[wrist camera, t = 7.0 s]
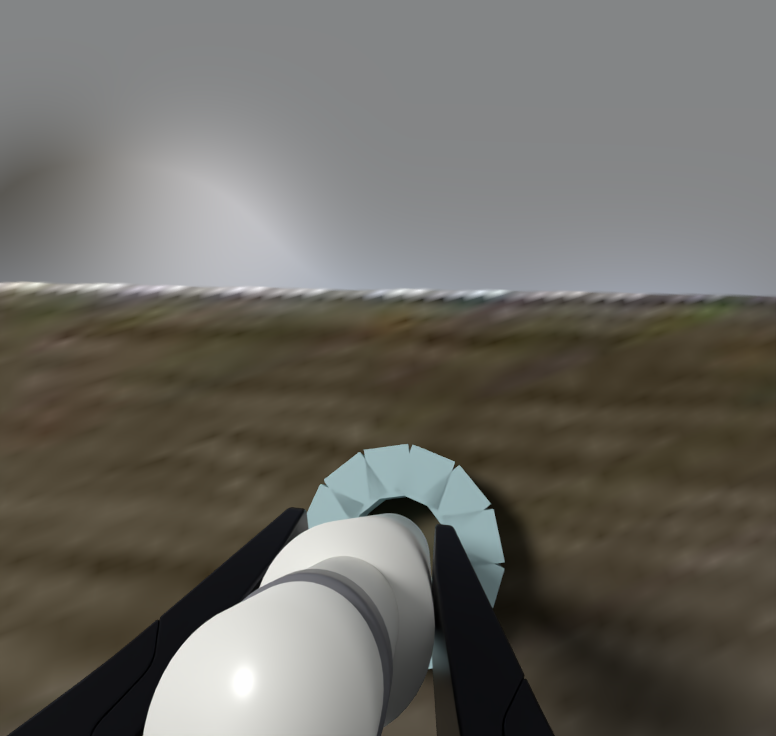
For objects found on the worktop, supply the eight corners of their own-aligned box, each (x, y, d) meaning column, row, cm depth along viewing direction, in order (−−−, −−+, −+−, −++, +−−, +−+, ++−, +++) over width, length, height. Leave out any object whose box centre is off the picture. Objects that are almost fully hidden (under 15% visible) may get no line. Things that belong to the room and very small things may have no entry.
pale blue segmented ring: (510, 636, 19) (524, 657, 16) (321, 657, 20) (303, 682, 17) (471, 443, 23) (477, 434, 20) (311, 465, 23) (296, 459, 20)
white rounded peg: (404, 621, 14) (294, 1189, 2) (334, 570, 15) (-4, 805, 3) (444, 541, 15) (511, 666, 3) (376, 497, 16) (230, 470, 4)
